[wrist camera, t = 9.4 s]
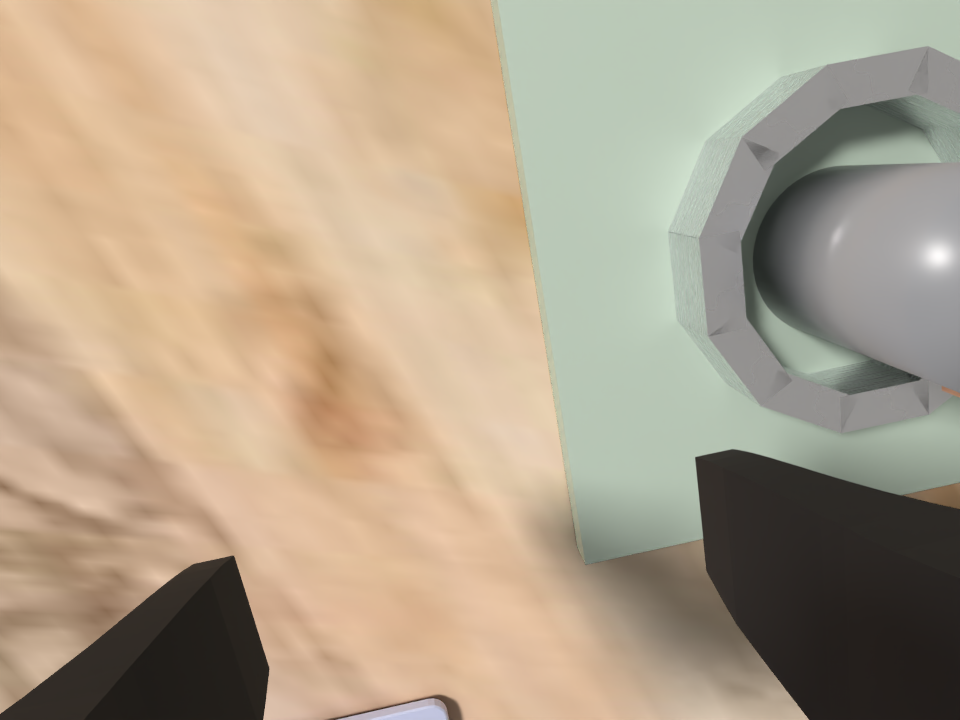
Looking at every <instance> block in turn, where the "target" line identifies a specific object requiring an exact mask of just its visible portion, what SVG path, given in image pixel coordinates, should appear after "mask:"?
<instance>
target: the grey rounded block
mask: <svg viewBox="0 0 960 720" xmlns="http://www.w3.org/2000/svg"><path fill="white" fill-rule="evenodd" d="M753 272H754V278H755V282H756V285H757V289H758V291H759V293H760V295H761V298H762V300H763V301H764V303H765V304H766V306H767V307H768V308H769V309H770V311H771V312H772V313H773V314H774V315H775V316H776V317H778V318H779V319H780V320H781V321H783V322H784V323H786V324H788V325H789V326H791V327H794V328H796V329H799V330H801V331H804V332H806V333H809V334H811V335H814V336H816V337H819V338H821V339H824V340H827V341H829V342H832V343H834V344H837V345H839V346H842V347H844V348H847V349H849V350H852V351H855V352H857V353H860V354H862V355H865V356H867V357H870V358H872V359H875V360H877V361H880V362H883V363H885V364H888V365H890V366H893V367H895V368H898V369H900V370H903V371H905V372H908V373H911V374H913V375H916V376H918V377H921V378H923V379H926V380H928V381H931V382H933V383H936V384H939V385H941V386H942V391H944V392H947V393H949V394H952V395H954V396H957V397H959V398H960V162H947V163H913V164H879V165H845V166H833V167H827V168H823V169H820V170H817V171H814V172H812V173H810V174H807V175H805V176H804V177H802V178H800V179H799V180H797V181H796V182H794V183H793V184H792V185H790V186H789V187H788V188H787V189H786V190H785V191H784V192H782V193H781V194H780V195H779V197H778V198H777V199H776V200H775V201H774V203H773V204H772V205H771V207H770V208H769V210H768V211H767V213H766V215H765V217H764V219H763V221H762V223H761V225H760V227H759V230H758V233H757V236H756V240H755V245H754V252H753Z"/></svg>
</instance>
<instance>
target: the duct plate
mask: <svg viewBox="0 0 960 720" xmlns="http://www.w3.org/2000/svg"><path fill="white" fill-rule="evenodd" d="M491 5H492V11H493V18H494V24H495V30H496V37H497V43H498V49H499V56H500V62H501V68H502V74H503V81H504V87H505V93H506V100H507V106H508V112H509V119H510V125H511V131H512V138H513V144H514V150H515V157H516V163H517V169H518V176H519V182H520V188H521V194H522V201H523V207H524V213H525V220H526V226H527V232H528V239H529V245H530V251H531V258H532V264H533V270H534V277H535V283H536V289H537V296H538V302H539V308H540V314H541V321H542V327H543V333H544V340H545V346H546V352H547V359H548V365H549V371H550V378H551V384H552V390H553V397H554V403H555V409H556V415H557V422H558V428H559V434H560V441H561V447H562V453H563V460H564V466H565V472H566V479H567V485H568V491H569V498H570V504H571V510H572V517H573V523H574V529H575V535H576V542H577V548H578V550H579V552H580V554H581V556H582V558H583V561H584V563H585V565H588V564H592V563H597V562H601V561H606V560H610V559H615V558H619V557H624V556H628V555H633V554H637V553H642V552H647V551H651V550H656V549H660V548H665V547H669V546H674V545H678V544H683V543H687V542H692V541H696V540H701V539H703V531H702V521H701V512H700V502H699V492H698V482H697V472H696V462H695V457H698V456H702V455H707V454H712V453H716V452H721V451H726V450H730V449H736V450H742V451H747V452H751V453H755V454H759V455H762V456H766V457H769V458H773V459H776V460H780V461H783V462H786V463H790V464H793V465H796V466H799V467H803V468H806V469H809V470H813V471H816V472H819V473H822V474H826V475H829V476H832V477H836V478H839V479H842V480H846V481H849V482H853V483H856V484H860V485H863V486H867V487H871V488H874V489H878V490H881V491H885V492H889V493H893V494H897V495H905V494H910V493H914V492H919V491H923V490H928V489H932V488H937V487H941V486H946V485H950V484H955V483H960V398H959V397H957V396H954V395H953V396H952V397H951V398H949V399H948V400H947V401H946V402H944V403H943V404H942V405H940V406H939V407H938V408H937V409H935V410H934V411H933V412H931V413H930V414H929V415H925V416H920V417H915V418H911V419H906V420H901V421H897V422H892V423H887V424H883V425H878V426H873V427H869V428H864V429H859V430H855V431H850V432H845V433H839V432H836V431H833V430H830V429H827V428H824V427H821V426H818V425H815V424H812V423H809V422H806V421H803V420H800V419H797V418H794V417H791V416H788V415H785V414H783V413H780V412H777V411H774V410H771V409H768V408H765V407H762V406H760V405H758V404H757V403H755V402H754V401H752V400H751V399H749V398H747V397H746V396H744V395H743V394H741V393H740V392H738V391H737V390H735V389H734V388H732V387H730V386H729V385H727V384H726V383H725V382H724V381H723V379H722V378H721V377H720V375H719V374H718V373H717V371H716V370H715V369H714V368H713V366H712V365H711V364H710V362H709V361H708V360H707V359H706V357H705V356H704V355H703V353H702V352H701V351H700V349H699V348H698V347H697V346H696V344H695V343H694V342H693V340H692V339H691V338H690V336H689V335H688V334H687V333H686V331H685V330H684V329H683V327H682V326H681V325H680V324H679V322H678V321H677V317H676V307H675V297H674V288H673V278H672V268H671V259H670V249H669V239H668V230H669V228H670V225H671V223H672V220H673V218H674V216H675V213H676V211H677V208H678V206H679V203H680V201H681V199H682V196H683V194H684V191H685V189H686V186H687V184H688V181H689V179H690V177H691V174H692V172H693V169H694V167H695V164H696V162H697V160H698V157H699V155H700V152H701V150H702V147H703V145H704V143H705V141H706V140H707V139H708V138H709V137H711V136H712V135H713V134H714V133H715V132H716V131H718V130H719V129H720V128H721V127H722V126H724V125H725V124H726V123H727V122H728V121H729V120H731V119H732V118H733V117H734V116H735V115H736V114H738V113H739V112H740V111H741V110H742V109H743V108H745V107H746V106H747V105H748V104H749V103H750V102H752V101H753V100H754V99H755V98H756V97H758V96H759V95H760V94H761V93H762V92H763V91H765V90H766V89H767V88H768V87H769V86H770V85H772V84H773V83H774V82H775V81H776V80H777V79H779V78H780V77H782V76H785V75H789V74H793V73H797V72H801V71H804V70H808V69H812V68H816V67H820V66H823V65H827V64H833V63H838V62H844V61H849V60H854V59H860V58H865V57H871V56H876V55H882V54H887V53H893V52H898V51H903V50H909V49H914V48H920V47H925V46H929V47H932V48H934V49H936V50H938V51H940V52H942V53H944V54H946V55H949V56H951V57H953V58H955V59H957V60H959V61H960V0H491ZM913 163H941V161H940V160H939V158H938V156H937V155H936V153H935V151H934V149H933V148H932V146H931V144H930V143H929V141H928V139H927V138H926V136H925V134H924V132H923V131H922V130H921V129H919V128H917V127H914V126H912V125H910V124H908V123H905V122H903V121H901V120H899V119H896V118H894V117H892V116H890V115H887V114H885V113H883V112H881V111H878V110H876V109H874V108H872V107H869V106H867V105H865V104H864V105H859V106H853V107H848V108H843V109H840V110H838V111H837V112H836V113H835V114H834V115H832V116H831V117H830V118H829V119H828V120H826V121H825V122H824V123H823V124H822V125H821V126H819V127H818V128H817V129H816V130H815V131H813V132H812V133H811V134H810V135H809V136H807V137H806V138H805V139H804V140H803V141H801V142H800V143H799V144H798V145H797V146H796V147H794V148H793V149H792V150H791V151H790V152H788V153H787V154H786V155H785V156H784V157H782V158H781V159H780V160H779V161H778V162H777V163H775V164H774V166H773V169H772V171H771V173H770V176H769V178H768V180H767V183H766V185H765V187H764V189H763V192H762V194H761V196H760V199H759V201H758V203H757V206H756V208H755V210H754V212H753V215H752V217H751V219H750V222H749V224H748V226H747V229H746V231H745V233H744V236H743V238H742V240H741V253H742V266H743V280H744V293H745V306H746V318H747V319H748V321H749V322H750V324H751V325H752V326H753V328H754V329H755V330H756V332H757V333H758V334H759V336H760V337H761V338H762V340H763V341H764V343H765V344H766V345H767V347H768V348H769V349H770V351H771V352H772V353H773V355H774V356H775V358H776V359H777V360H778V362H779V363H780V364H781V365H783V366H786V367H789V368H791V369H794V370H797V371H800V372H803V373H806V374H808V373H812V372H817V371H822V370H827V369H832V368H836V367H841V366H846V365H851V364H856V363H860V362H865V361H869V360H870V359H872V358H870V357H867V356H865V355H862V354H860V353H857V352H855V351H852V350H849V349H847V348H844V347H842V346H839V345H837V344H834V343H832V342H829V341H827V340H824V339H821V338H819V337H816V336H814V335H811V334H809V333H806V332H804V331H801V330H799V329H796V328H794V327H791V326H789V325H788V324H786V323H784V322H783V321H781V320H780V319H779V318H778V317H776V316H775V315H774V314H773V313H772V312H771V311H770V309H769V308H768V307H767V306H766V304H765V303H764V301H763V300H762V298H761V295H760V293H759V291H758V289H757V285H756V282H755V278H754V272H753V252H754V245H755V240H756V236H757V233H758V230H759V227H760V225H761V223H762V221H763V219H764V217H765V215H766V213H767V211H768V210H769V208H770V207H771V205H772V204H773V203H774V201H775V200H776V199H777V198H778V197H779V195H780V194H781V193H782V192H784V191H785V190H786V189H787V188H788V187H789V186H790V185H792V184H793V183H794V182H796V181H797V180H799V179H800V178H802V177H804V176H805V175H807V174H810V173H812V172H814V171H817V170H820V169H823V168H827V167H833V166H845V165H879V164H913Z"/></svg>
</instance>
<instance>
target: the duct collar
mask: <svg viewBox="0 0 960 720" xmlns="http://www.w3.org/2000/svg"><path fill="white" fill-rule="evenodd" d="M864 104H865V105H867V106H869V107H872V108H874V109H876V110H878V111H881V112H883V113H885V114H887V115H890V116H892V117H894V118H896V119H899V120H901V121H903V122H905V123H908V124H910V125H912V126H914V127H917V128H919V129H921V130H922V131H923V132H924V134H925V136H926V138H927V139H928V141H929V143H930V144H931V146H932V148H933V149H934V151H935V153H936V155H937V156H938V158H939V160H940V161H941V163H947V162H960V61H959V60H957V59H955V58H953V57H951V56H949V55H946V54H944V53H942V52H940V51H938V50H936V49H934V48H932V47H929V46H925V47H920V48H914V49H909V50H903V51H898V52H893V53H887V54H882V55H876V56H871V57H865V58H860V59H854V60H849V61H844V62H838V63H833V64H827V65H823V66H820V67H816V68H812V69H808V70H804V71H801V72H797V73H793V74H789V75H785V76H782V77H780V78H779V79H777V80H776V81H775V82H774V83H773V84H772V85H770V86H769V87H768V88H767V89H766V90H765V91H763V92H762V93H761V94H760V95H759V96H758V97H756V98H755V99H754V100H753V101H752V102H750V103H749V104H748V105H747V106H746V107H745V108H743V109H742V110H741V111H740V112H739V113H738V114H736V115H735V116H734V117H733V118H732V119H731V120H729V121H728V122H727V123H726V124H725V125H724V126H722V127H721V128H720V129H719V130H718V131H716V132H715V133H714V134H713V135H712V136H711V137H709V138H708V139H707V140H706V141H705V143H704V145H703V147H702V150H701V152H700V155H699V157H698V160H697V162H696V164H695V167H694V169H693V172H692V174H691V177H690V179H689V181H688V184H687V186H686V189H685V191H684V194H683V196H682V199H681V201H680V203H679V206H678V208H677V211H676V213H675V216H674V218H673V220H672V223H671V225H670V228H669V230H668V239H669V249H670V259H671V268H672V278H673V288H674V297H675V307H676V317H677V321H678V322H679V324H680V325H681V326H682V327H683V329H684V330H685V331H686V333H687V334H688V335H689V336H690V338H691V339H692V340H693V342H694V343H695V344H696V346H697V347H698V348H699V349H700V351H701V352H702V353H703V355H704V356H705V357H706V359H707V360H708V361H709V362H710V364H711V365H712V366H713V368H714V369H715V370H716V371H717V373H718V374H719V375H720V377H721V378H722V379H723V381H724V382H725V383H726V384H727V385H729V386H730V387H732V388H734V389H735V390H737V391H738V392H740V393H741V394H743V395H744V396H746V397H747V398H749V399H751V400H752V401H754V402H755V403H757V404H758V405H760V406H762V407H765V408H768V409H771V410H774V411H777V412H780V413H783V414H785V415H788V416H791V417H794V418H797V419H800V420H803V421H806V422H809V423H812V424H815V425H818V426H821V427H824V428H827V429H830V430H833V431H836V432H839V433H845V432H850V431H855V430H859V429H864V428H869V427H873V426H878V425H883V424H887V423H892V422H897V421H901V420H906V419H911V418H915V417H920V416H925V415H929V414H930V413H931V412H933V411H934V410H935V409H937V408H938V407H939V406H940V405H942V404H943V403H944V402H946V401H947V400H948V399H949V398H951V397H952V396H953V395H952V394H949V393H947V392H944V391H942V386H941V385H939V384H936V383H933V382H931V381H928V380H926V379H923V378H921V377H918V376H916V375H913V374H911V373H908V372H905V371H903V370H900V369H898V368H895V367H893V366H890V365H888V364H885V363H883V362H880V361H877V360H875V359H870V360H869V361H865V362H860V363H856V364H851V365H846V366H841V367H836V368H832V369H827V370H822V371H817V372H812V373H808V374H806V373H803V372H800V371H797V370H794V369H791V368H789V367H786V366H783V365H781V364H780V363H779V362H778V360H777V359H776V358H775V356H774V355H773V353H772V352H771V351H770V349H769V348H768V347H767V345H766V344H765V343H764V341H763V340H762V338H761V337H760V336H759V334H758V333H757V332H756V330H755V329H754V328H753V326H752V325H751V324H750V322H749V321H748V319H747V318H746V306H745V293H744V280H743V266H742V253H741V240H742V238H743V236H744V233H745V231H746V229H747V226H748V224H749V222H750V219H751V217H752V215H753V212H754V210H755V208H756V206H757V203H758V201H759V199H760V196H761V194H762V192H763V189H764V187H765V185H766V183H767V180H768V178H769V176H770V173H771V171H772V169H773V166H774V164H775V163H777V162H778V161H779V160H780V159H781V158H782V157H784V156H785V155H786V154H787V153H788V152H790V151H791V150H792V149H793V148H794V147H796V146H797V145H798V144H799V143H800V142H801V141H803V140H804V139H805V138H806V137H807V136H809V135H810V134H811V133H812V132H813V131H815V130H816V129H817V128H818V127H819V126H821V125H822V124H823V123H824V122H825V121H826V120H828V119H829V118H830V117H831V116H832V115H834V114H835V113H836V112H837V111H838V110H840V109H843V108H848V107H853V106H859V105H864Z"/></svg>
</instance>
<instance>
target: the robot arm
mask: <svg viewBox="0 0 960 720" xmlns="http://www.w3.org/2000/svg"><path fill="white" fill-rule="evenodd" d="M695 462H696V472H697V482H698V492H699V502H700V512H701V521H702V531H703V541H704V551H705V561H706V570H707V573H708V575H709V576H710V578H711V580H712V582H713V584H714V586H715V587H716V589H717V591H718V593H719V595H720V596H721V598H722V600H723V602H724V604H725V605H726V607H727V609H728V610H729V612H730V614H731V615H732V617H733V619H734V621H735V622H736V624H737V625H738V627H739V628H740V630H741V631H742V632H743V634H744V635H745V636H746V638H747V639H748V640H749V642H750V643H751V644H752V646H753V647H754V648H755V650H756V651H757V652H758V654H759V655H760V656H761V658H762V659H763V660H764V662H765V663H766V664H767V665H768V667H769V668H770V669H771V671H772V672H773V673H774V675H775V676H776V677H777V678H778V680H779V681H780V682H781V684H782V685H783V686H784V688H785V689H786V690H787V691H788V693H789V694H790V695H791V697H792V698H793V699H794V701H795V702H796V703H797V704H798V706H799V707H800V708H801V710H802V711H803V712H804V714H805V715H806V716H807V717H808V719H809V720H960V509H957V508H952V507H947V506H943V505H938V504H933V503H929V502H925V501H921V500H917V499H913V498H909V497H905V496H901V495H897V494H893V493H889V492H885V491H881V490H878V489H874V488H871V487H867V486H863V485H860V484H856V483H853V482H849V481H846V480H842V479H839V478H836V477H832V476H829V475H826V474H822V473H819V472H816V471H813V470H809V469H806V468H803V467H799V466H796V465H793V464H790V463H786V462H783V461H780V460H776V459H773V458H769V457H766V456H762V455H759V454H755V453H751V452H747V451H742V450H736V449H730V450H726V451H721V452H716V453H712V454H707V455H702V456H698V457H695ZM268 676H269V666H268V663H267V660H266V656H265V653H264V650H263V647H262V644H261V640H260V637H259V634H258V631H257V628H256V624H255V621H254V618H253V615H252V612H251V608H250V605H249V602H248V599H247V596H246V592H245V589H244V586H243V583H242V580H241V576H240V573H239V570H238V567H237V564H236V560H235V557H234V556H229V557H225V558H220V559H215V560H211V561H206V562H201V563H197V564H193V565H191V566H190V567H188V568H187V569H185V570H183V571H182V572H181V573H179V574H178V575H176V576H175V577H174V578H172V579H171V580H170V581H169V582H167V583H166V584H165V585H163V586H162V587H161V588H160V589H158V590H157V591H156V592H155V593H153V594H152V595H151V596H150V597H149V598H147V599H146V600H145V601H144V602H142V603H141V604H140V605H139V606H138V607H136V608H135V609H134V610H133V611H132V612H130V613H129V614H128V615H127V616H125V617H124V618H123V619H122V620H121V621H119V622H118V623H117V624H116V625H115V626H113V627H112V628H111V629H110V630H108V631H107V632H106V633H105V634H104V635H102V636H101V637H100V638H99V639H97V640H96V641H95V642H94V643H93V644H91V645H90V646H89V647H88V648H86V649H85V650H84V651H83V652H81V653H80V654H79V655H77V656H76V657H75V658H73V659H72V660H71V661H70V662H68V663H67V664H66V665H64V666H63V667H62V668H61V669H59V670H58V671H57V672H55V673H54V674H53V675H51V676H50V677H49V678H48V679H46V680H45V681H44V682H42V683H41V684H40V685H38V686H37V687H36V688H35V689H33V690H32V691H31V692H29V693H28V694H27V695H26V696H24V697H23V698H22V699H20V700H19V701H17V702H16V703H15V704H13V705H12V706H11V707H9V708H8V709H6V710H5V711H4V712H2V713H1V714H0V720H263V716H264V709H265V702H266V693H267V685H268ZM337 720H449V716H448V712H447V708H446V706H445V704H444V703H443V702H442V701H441V700H438V699H435V698H432V699H425V700H421V701H416V702H412V703H407V704H403V705H399V706H394V707H390V708H385V709H381V710H377V711H372V712H368V713H364V714H359V715H355V716H350V717H346V718H342V719H337Z"/></svg>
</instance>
